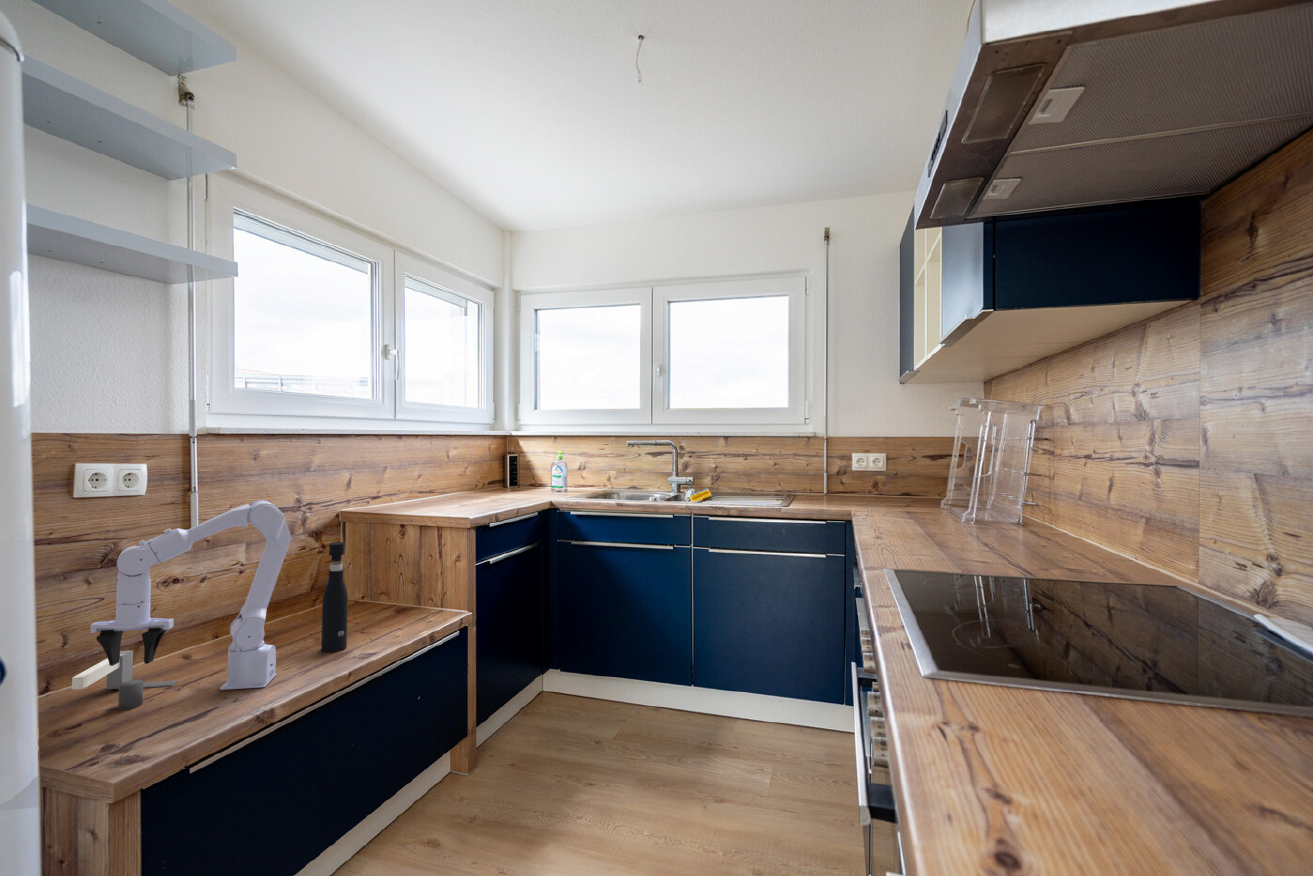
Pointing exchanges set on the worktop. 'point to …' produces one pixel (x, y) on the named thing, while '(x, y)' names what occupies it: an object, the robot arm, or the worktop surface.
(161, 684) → the rail
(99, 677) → the tie bar
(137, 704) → the plug
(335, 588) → the black water bottle
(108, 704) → the worktop surface
